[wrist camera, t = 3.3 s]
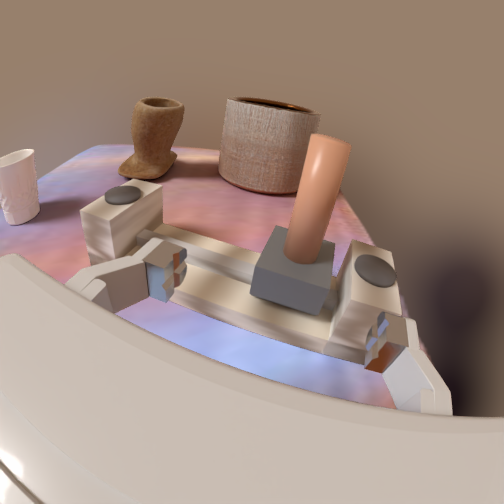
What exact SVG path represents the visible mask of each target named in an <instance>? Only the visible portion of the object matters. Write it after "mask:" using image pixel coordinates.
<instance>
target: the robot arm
mask: <svg viewBox="0 0 504 504" xmlns="http://www.w3.org/2000/svg"><path fill="white" fill-rule="evenodd" d="M186 257H187V250H186V248H184V247H181V246H178V245H176V244H173V243H170V242H168V241H164V240H162V239H159V238H156V237H155V238H152V239H151V240H150V241H149V242H147V243H146V244H145V245H144V246H143V247H142V248H141V249H140V250H138V251H137V252H136V253H135V254H134V255H133V256H125V257H122V258H118V259H115V260H111V261H108V262H104V263H101V264H97V265H94V266H90V267H87V268H83V269H81V270H80V271H79V272H78V273H76V274H75V275H74V276H73V277H72V278H71V279H70V280H69V281H68V282H67V283H65V284H62V283H61V282H59V281H57V280H56V279H54V278H53V277H51V276H50V275H48V274H47V273H45V272H44V271H42V270H41V269H39V268H38V267H36V266H35V265H34V264H32V263H31V262H29V261H28V260H27V259H25V258H24V257H22V256H21V255H19V254H16V253H13V254H8V255H5V256H2V257H0V504H504V417H464V416H453V415H452V403H451V394H450V391H449V389H448V387H447V386H446V384H445V383H444V381H443V380H442V379H441V377H440V375H439V374H438V372H437V371H436V369H435V368H434V366H433V365H432V363H431V362H430V361H429V359H428V358H427V356H426V355H425V353H424V352H423V351H421V350H420V346H419V339H418V333H417V327H416V322H415V321H414V320H413V319H409V318H406V317H401V316H397V315H394V314H391V313H387V312H384V311H382V312H381V313H380V314H379V316H378V317H377V323H376V324H374V325H372V326H371V328H370V330H369V332H368V334H367V337H366V342H365V347H366V349H367V350H368V352H367V354H366V355H365V366H364V369H367V370H371V371H375V372H378V373H382V376H383V378H384V380H385V383H386V385H387V387H388V389H389V392H390V394H391V396H392V399H393V401H394V403H395V406H396V408H397V409H391V408H385V407H379V406H373V405H368V404H363V403H358V402H353V401H349V400H344V399H340V398H335V397H331V396H327V395H323V394H319V393H315V392H311V391H308V390H304V389H301V388H297V387H293V386H290V385H287V384H283V383H280V382H277V381H274V380H270V379H267V378H264V377H261V376H258V375H255V374H252V373H249V372H246V371H243V370H241V369H238V368H235V367H232V366H230V365H227V364H224V363H222V362H219V361H216V360H214V359H211V358H209V357H206V356H204V355H201V354H199V353H196V352H194V351H192V350H189V349H187V348H185V347H182V346H180V345H178V344H175V343H173V342H171V341H169V340H166V339H164V338H162V337H160V336H158V335H156V334H154V333H151V332H149V331H147V330H145V329H143V328H141V327H139V326H137V325H135V324H133V323H131V322H129V321H127V320H125V319H123V318H121V317H119V316H118V315H116V314H114V313H117V312H119V311H121V310H123V309H125V308H127V307H129V306H131V305H133V304H135V303H138V302H140V301H142V300H144V299H146V298H148V297H149V296H150V297H153V298H155V299H158V300H160V301H163V302H165V303H167V302H168V300H169V299H170V298H171V296H172V295H173V294H174V288H176V287H178V286H180V285H181V284H182V282H183V281H184V278H185V276H186V272H187V265H186V263H185V261H184V260H185V259H186Z"/></svg>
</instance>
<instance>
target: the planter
mask: <svg viewBox="0 0 504 504" xmlns="http://www.w3.org/2000/svg"><path fill="white" fill-rule="evenodd" d="M320 117H321V114H319V113H318V112H316V111H314V110H310V109H308V108H304V107H300V106H297V105H293V104H288V103H284V102H278V101H272V100H267V99H260V98H251V97H230V98H228V101H227V108H226V114H225V122H224V129H223V135H222V142H221V149H220V157H219V166H218V170H219V173H220V175H221V176H222V177H223V178H224V179H225V180H226V181H228V182H229V183H231V184H233V185H235V186H237V187H239V188H242V189H245V190H249V191H253V192H257V193H263V194H275V195H277V194H289V193H293V192H296V191H298V188H299V184H300V180H301V176H302V172H303V167H304V163H305V159H306V155H307V150H308V146H309V142H310V137H311V134H317V131H318V126H319V122H320Z"/></svg>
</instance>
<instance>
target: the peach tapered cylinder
mask: <svg viewBox="0 0 504 504" xmlns="http://www.w3.org/2000/svg"><path fill="white" fill-rule="evenodd" d="M351 147H352V146H351V145H350V144H349V143H347V142H345V141H342V140H340V139H337V138H333V137H330V136H326V135H322V134H311V137H310V142H309V146H308V150H307V155H306V159H305V163H304V167H303V172H302V176H301V180H300V184H299V188H298V192H297V196H296V201H295V205H294V209H293V213H292V217H291V221H290V224H289V228H288V229H287V228H283V227H280V226H277V225H276V226H275V228H274V230H273V232H272V234H271V236H270V238H269V240H268V242H267V244H266V246H265V248H264V250H263V251H262V253H261V255H260V257H259V259H258V261H257V263H256V265H255V268H254V273H253V278H252V283H251V288H250V293H249V294H251V295H252V296H255V297H258V298H261V299H264V300H267V301H270V302H273V303H276V304H279V305H282V306H285V307H288V308H292V309H295V310H298V311H301V312H304V313H308V314H311V315H314V316H315V315H318V314H319V312H320V310H321V308H322V306H323V303H324V301H325V299H326V297H327V295H328V292H329V290H330V284H331V276H332V268H333V259H334V250H335V243H332V242H329V241H326V240H323V239H324V236H325V233H326V230H327V227H328V224H329V221H330V218H331V214H332V211H333V208H334V205H335V202H336V199H337V195H338V192H339V189H340V186H341V182H342V179H343V175H344V172H345V168H346V165H347V161H348V158H349V154H350V151H351Z"/></svg>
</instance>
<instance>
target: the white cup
mask: <svg viewBox="0 0 504 504" xmlns="http://www.w3.org/2000/svg"><path fill="white" fill-rule="evenodd" d="M0 204H1V206H2V209H3V212H4V215H5V218H6V221H7V223H8V224H10V225H19V224H23V223H25V222H27V221H29V220H31V219H32V218H34V217H35V216H36V215H37V214H38V213H39V211H40V205H39V199H38V186H37V177H36V167H35V156H34V150H33V149H25V150H20V151H16V152H13V153H10V154H8V155H5V156H3V157H1V158H0Z"/></svg>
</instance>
